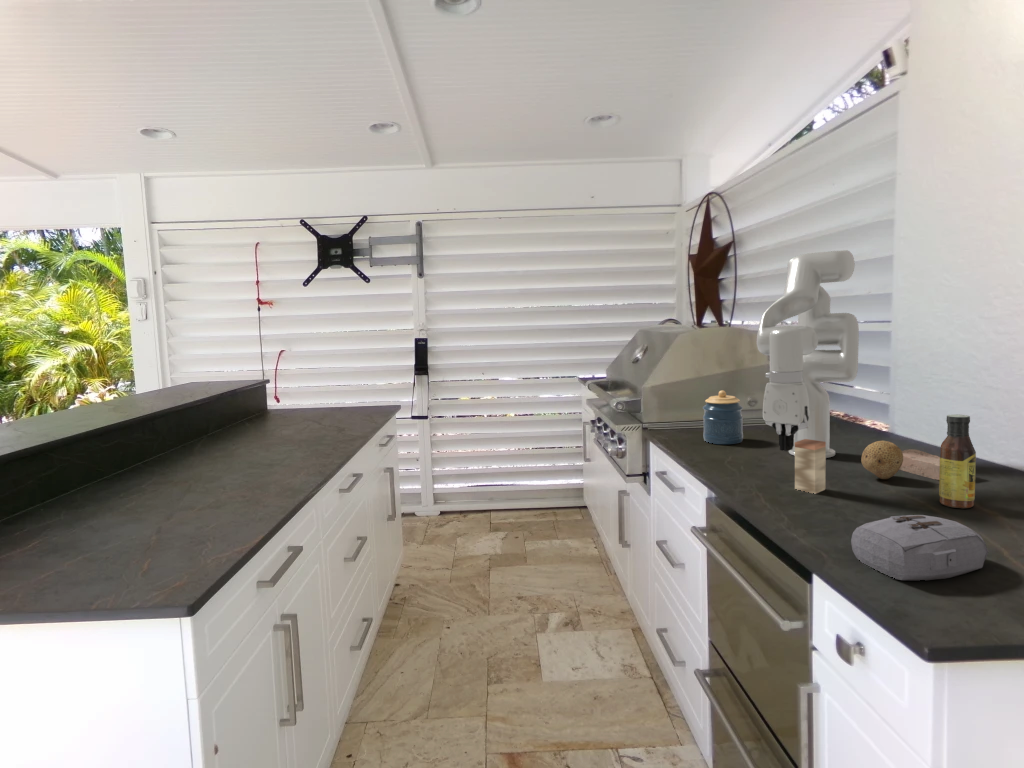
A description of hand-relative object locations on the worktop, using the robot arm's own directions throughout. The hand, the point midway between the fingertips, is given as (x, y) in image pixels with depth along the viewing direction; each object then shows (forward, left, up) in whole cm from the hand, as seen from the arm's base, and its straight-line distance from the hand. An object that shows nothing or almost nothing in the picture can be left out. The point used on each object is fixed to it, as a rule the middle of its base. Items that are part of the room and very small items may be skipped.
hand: (786, 449), depth 148 cm
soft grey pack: (+39, -27, -10) cm, 49 cm away
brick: (+20, +34, -10) cm, 40 cm away
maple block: (+6, 0, -9) cm, 11 cm away
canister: (-41, +33, -9) cm, 53 cm away
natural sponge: (+14, +20, -9) cm, 26 cm away
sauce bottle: (+33, +10, -9) cm, 36 cm away
